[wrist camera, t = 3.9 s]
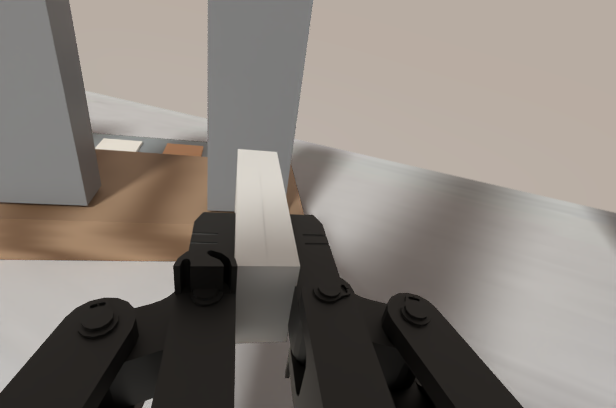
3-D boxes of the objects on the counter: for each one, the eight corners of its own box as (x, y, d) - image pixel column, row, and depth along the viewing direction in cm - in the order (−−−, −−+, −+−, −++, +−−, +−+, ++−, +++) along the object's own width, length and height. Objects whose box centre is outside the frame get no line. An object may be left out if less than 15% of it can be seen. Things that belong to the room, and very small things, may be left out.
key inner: (284, 214, 24) (319, -38, 16) (206, 210, 23) (206, -60, 15) (281, 194, 26) (310, -36, 19) (209, 190, 25) (211, -55, 17)
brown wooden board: (286, 191, 33) (290, 162, 31) (301, 262, 25) (307, 228, 23) (-134, 169, 26) (-155, 131, 25) (-309, 256, 18) (-357, 207, 16)
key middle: (88, 206, 21) (26, -96, 14) (-11, 202, 20) (-134, -127, 13) (102, 185, 23) (55, -85, 16) (14, 180, 22) (-80, -112, 15)
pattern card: (216, 147, 39) (216, 140, 39) (211, 177, 33) (211, 169, 33) (32, 133, 35) (29, 125, 35) (-10, 164, 29) (-13, 154, 29)
